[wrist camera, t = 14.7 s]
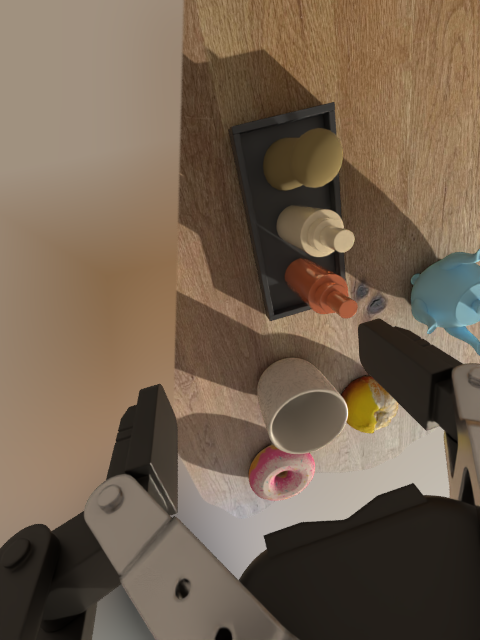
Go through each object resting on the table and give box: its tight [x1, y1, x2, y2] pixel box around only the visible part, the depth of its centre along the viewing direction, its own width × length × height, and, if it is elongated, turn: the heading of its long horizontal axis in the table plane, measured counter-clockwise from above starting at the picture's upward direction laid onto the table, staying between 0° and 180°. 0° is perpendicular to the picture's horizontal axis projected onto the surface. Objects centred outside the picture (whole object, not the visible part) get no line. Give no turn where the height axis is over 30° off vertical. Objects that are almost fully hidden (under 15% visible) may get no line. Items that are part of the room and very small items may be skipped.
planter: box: [257, 358, 348, 454], centre depth 48 cm, size 12×12×11 cm
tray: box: [229, 102, 346, 321], centre depth 41 cm, size 26×13×2 cm, turn 13°
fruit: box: [341, 375, 398, 433], centre depth 56 cm, size 11×10×8 cm
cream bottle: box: [277, 205, 354, 257], centre depth 35 cm, size 5×5×14 cm
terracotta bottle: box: [285, 258, 358, 318], centre depth 38 cm, size 5×5×14 cm
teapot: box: [411, 249, 480, 356], centre depth 46 cm, size 13×13×10 cm
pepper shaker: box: [263, 128, 343, 191], centre depth 33 cm, size 6×6×11 cm
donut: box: [249, 445, 315, 501], centre depth 59 cm, size 14×13×5 cm
